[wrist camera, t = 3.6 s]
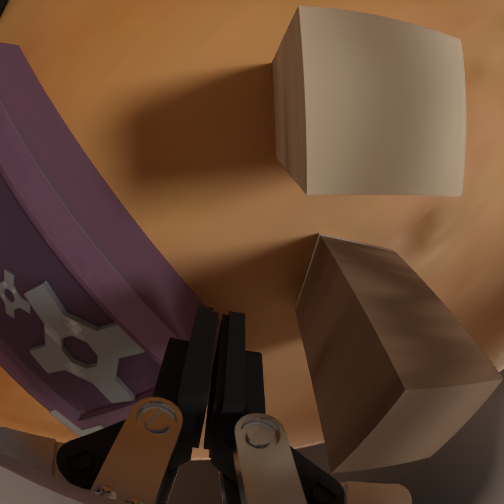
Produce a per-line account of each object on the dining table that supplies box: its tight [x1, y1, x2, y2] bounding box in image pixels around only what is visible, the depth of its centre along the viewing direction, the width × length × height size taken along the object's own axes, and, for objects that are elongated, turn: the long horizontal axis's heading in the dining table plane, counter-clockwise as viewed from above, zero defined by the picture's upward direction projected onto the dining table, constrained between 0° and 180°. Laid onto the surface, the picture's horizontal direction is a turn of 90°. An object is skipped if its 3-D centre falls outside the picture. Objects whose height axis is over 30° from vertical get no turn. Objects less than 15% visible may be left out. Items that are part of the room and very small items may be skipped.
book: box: [0, 43, 221, 437], centre depth 15 cm, size 25×16×5 cm, turn 33°
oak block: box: [272, 6, 466, 197], centre depth 10 cm, size 5×5×8 cm
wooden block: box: [295, 233, 503, 473], centre depth 13 cm, size 5×5×11 cm
